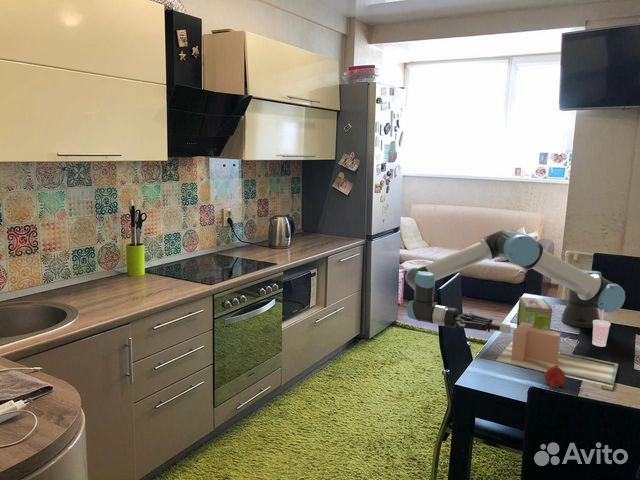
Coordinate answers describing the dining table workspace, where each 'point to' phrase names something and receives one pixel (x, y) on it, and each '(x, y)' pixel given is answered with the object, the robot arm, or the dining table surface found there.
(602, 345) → the beverage cup
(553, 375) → the red pomegranate
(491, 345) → the dining table surface
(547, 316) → the tea box
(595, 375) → the board
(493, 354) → the dining table surface
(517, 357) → the tee
